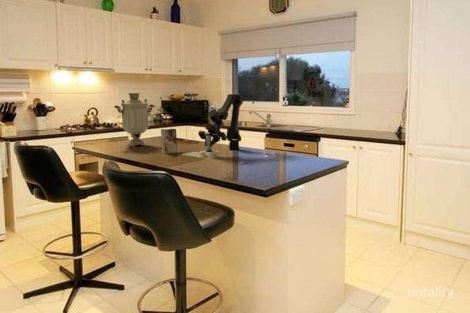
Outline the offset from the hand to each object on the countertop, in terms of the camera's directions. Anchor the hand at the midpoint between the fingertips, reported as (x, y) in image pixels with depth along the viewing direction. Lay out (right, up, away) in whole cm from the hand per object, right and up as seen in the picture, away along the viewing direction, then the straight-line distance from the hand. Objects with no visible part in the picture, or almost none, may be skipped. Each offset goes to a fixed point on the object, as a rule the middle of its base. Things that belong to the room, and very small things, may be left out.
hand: (207, 146), depth 250 cm
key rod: (+1, -6, +2) cm, 7 cm away
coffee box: (-28, -4, +25) cm, 38 cm away
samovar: (-59, +2, +60) cm, 84 cm away
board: (-4, -7, +7) cm, 10 cm away
